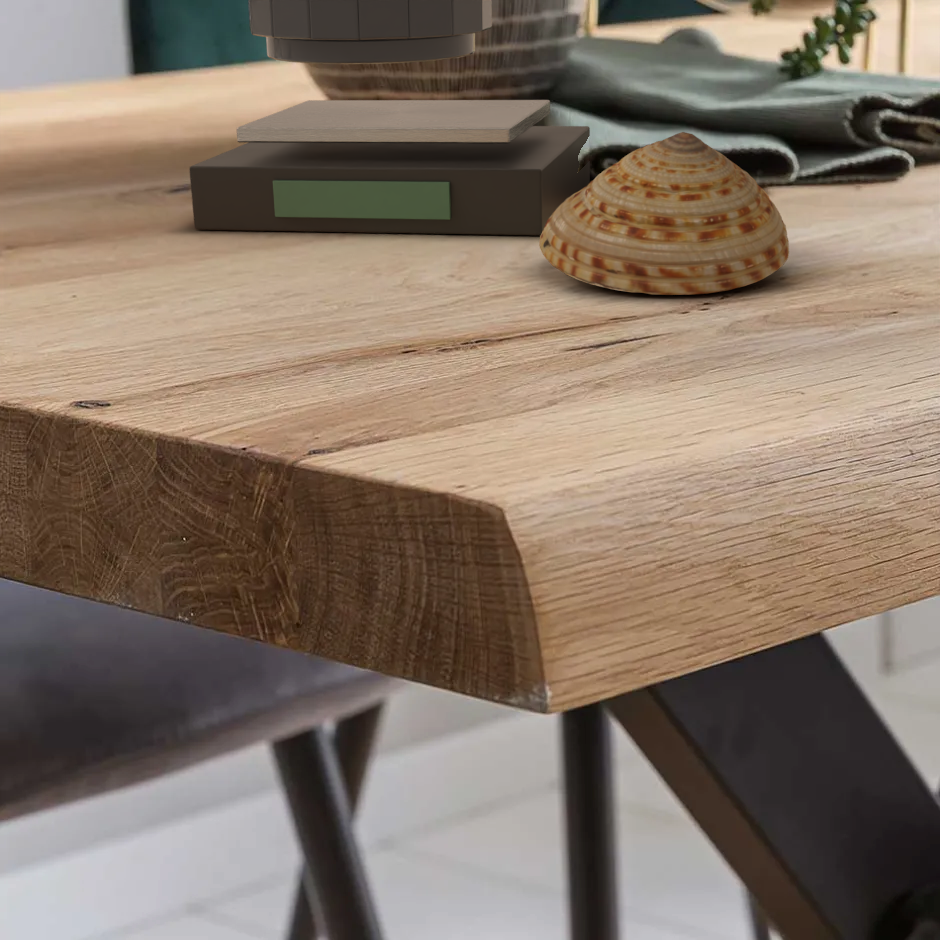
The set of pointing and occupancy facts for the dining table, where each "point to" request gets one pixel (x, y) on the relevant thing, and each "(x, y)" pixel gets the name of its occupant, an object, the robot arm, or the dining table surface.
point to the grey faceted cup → (368, 29)
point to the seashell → (668, 224)
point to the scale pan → (397, 121)
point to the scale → (392, 185)
